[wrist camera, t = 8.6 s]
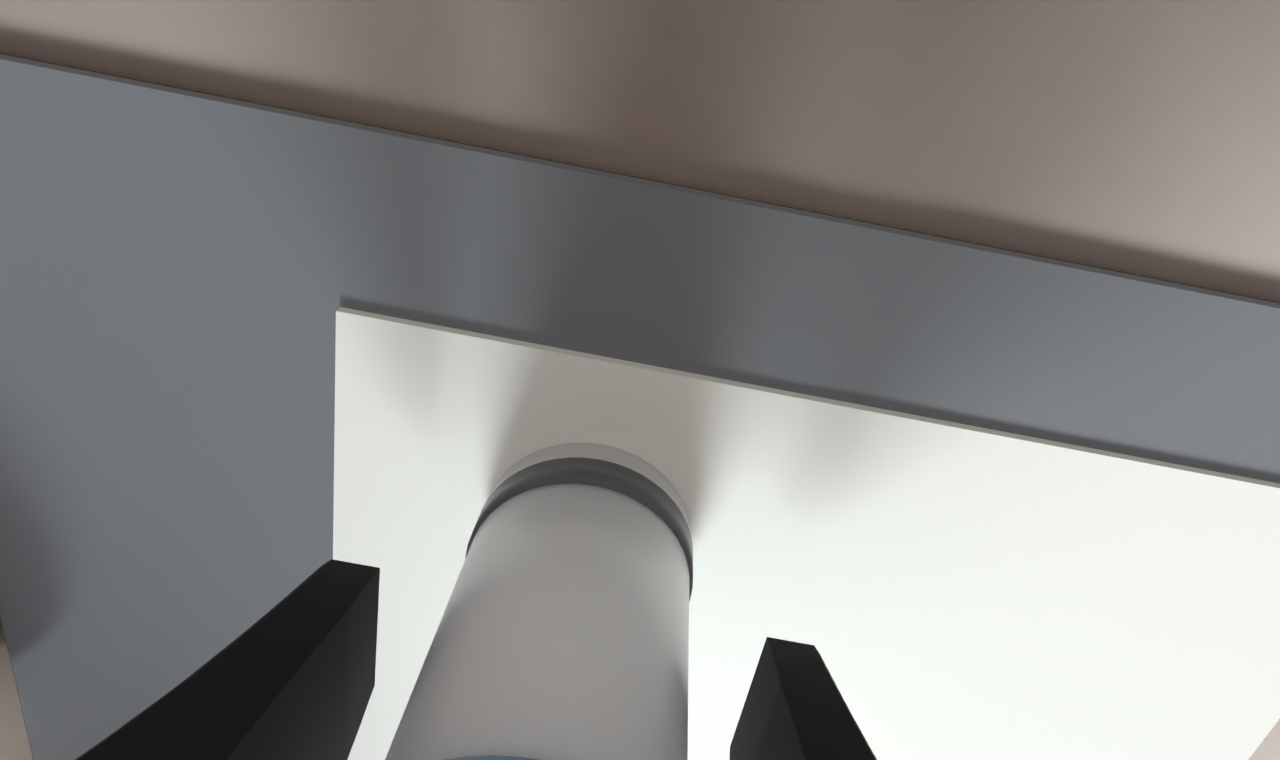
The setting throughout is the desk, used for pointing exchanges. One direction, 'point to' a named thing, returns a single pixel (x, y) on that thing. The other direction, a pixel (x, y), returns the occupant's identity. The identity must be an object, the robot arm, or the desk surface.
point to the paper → (838, 551)
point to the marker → (563, 620)
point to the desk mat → (468, 300)
